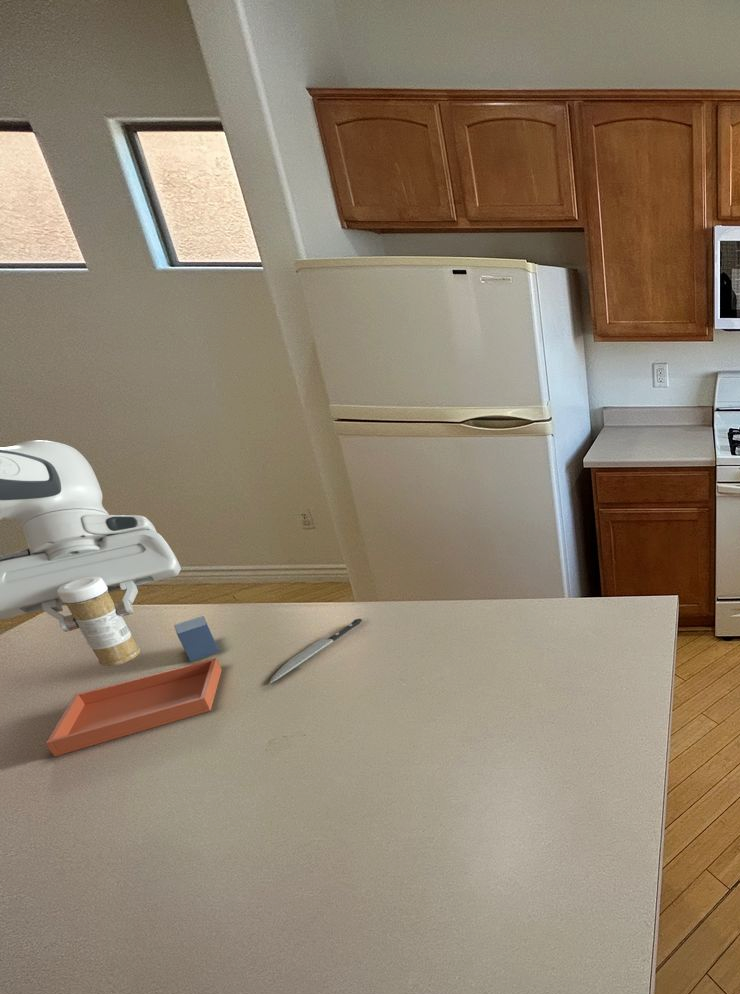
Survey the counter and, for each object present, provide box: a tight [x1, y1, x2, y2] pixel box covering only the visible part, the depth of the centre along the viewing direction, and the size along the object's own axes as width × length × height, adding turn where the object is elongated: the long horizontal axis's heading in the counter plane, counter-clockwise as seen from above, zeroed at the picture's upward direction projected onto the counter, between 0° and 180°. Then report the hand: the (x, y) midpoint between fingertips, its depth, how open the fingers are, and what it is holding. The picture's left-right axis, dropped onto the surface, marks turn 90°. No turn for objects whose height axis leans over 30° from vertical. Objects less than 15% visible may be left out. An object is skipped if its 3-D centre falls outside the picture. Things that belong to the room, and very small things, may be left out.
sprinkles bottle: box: [57, 577, 141, 667], centre depth 82 cm, size 5×5×13 cm
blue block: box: [173, 615, 220, 663], centre depth 99 cm, size 4×4×6 cm
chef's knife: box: [268, 618, 363, 685], centre depth 101 cm, size 19×1×3 cm
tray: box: [45, 657, 223, 757], centre depth 87 cm, size 17×12×3 cm
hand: (99, 621), depth 81 cm, fingers closed on sprinkles bottle, 4 cm apart
